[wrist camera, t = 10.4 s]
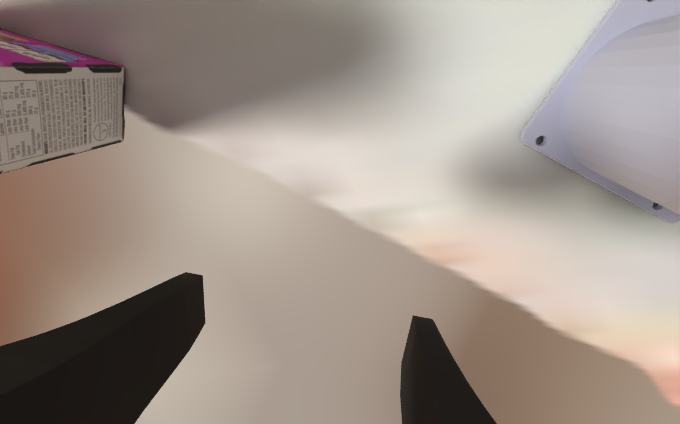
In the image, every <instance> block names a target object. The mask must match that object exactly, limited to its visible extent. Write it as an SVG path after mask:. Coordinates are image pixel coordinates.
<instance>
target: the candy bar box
mask: <svg viewBox="0 0 680 424" xmlns="http://www.w3.org/2000/svg"><path fill="white" fill-rule="evenodd" d="M124 71H125V69H124V67H123V66H122V65H118V64H115V63H112V62H108V61H105V60H102V59H98V58H95V57H91V56H88V55H85V54H82V53H78V52H75V51H72V50H68V49H65V48H61V47H58V46H55V45H51V44H48V43H45V42H41V41H38V40H34V39H31V38H28V37H25V36H21V35H18V34H15V33H12V32H9V31H5V30H2V29H0V174H2V173H6V172H10V171H14V170H17V169H22V168H24V167H27V166H31V165H35V164H39V163H43V162H47V161H50V160H55V159H58V158H62V157H66V156H70V155H74V154H78V153H82V152H86V151H89V150H93V149H97V148H100V147H104V146H108V145H111V144H116V143H119V142H122V141H123V139H124V127H125V120H124V87H125V80H124Z"/></svg>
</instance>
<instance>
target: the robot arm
mask: <svg viewBox="0 0 680 424" xmlns="http://www.w3.org/2000/svg"><path fill="white" fill-rule="evenodd" d="M539 136H543V137H544V140H543V142H542V143H541V144H539V145H537V144H536V139H537V138H538V137H539ZM520 140H521V142H522V143H524V144H525V145H527V146H529V147H531V148H533V149H534V150H536V151H538V152H540V153H542V154H543V155H545V156H547V157H549V158H551V159H553V160H554V161H556V162H558V163H560V164H562V165H564V166H565V167H567V168H569V169H571V170H573V171H575V172H576V173H578V174H580V175H582V176H584V177H586V178H587V179H589V180H591V181H593V182H595V183H597V184H598V185H600V186H602V187H604V188H606V189H607V190H609V191H611V192H613V193H615V194H617V195H618V196H620V197H622V198H624V199H626V200H628V201H629V202H631V203H633V204H635V205H637V206H639V207H640V208H642V209H644V210H646V211H648V212H650V213H651V214H653V215H655V216H657V217H659V218H660V219H662V220H664V221H666V222H669V223H675V222H678V221H680V0H651V1H650V2H648V1H647V0H616V2H615V3H614V4H613V6H612V7H611V9H610V10H609V11H608V13H607V14H606V16H605V17H604V18H603V20H602V21H601V22H600V24H599V25H598V27H597V28H596V29H595V31H594V32H593V33H592V35H591V36H590V38H589V39H588V40H587V42H586V43H585V44H584V46H583V47H582V49H581V50H580V51H579V53H578V54H577V55H576V57H575V58H574V60H573V61H572V62H571V64H570V65H569V66H568V68H567V69H566V71H565V72H564V73H563V75H562V76H561V77H560V79H559V80H558V82H557V83H556V84H555V86H554V87H553V88H552V90H551V91H550V93H549V94H548V95H547V97H546V98H545V99H544V101H543V102H542V104H541V105H540V106H539V108H538V109H537V111H536V112H535V113H534V115H533V116H532V117H531V119H530V120H529V122H528V123H527V124H526V126H525V127H524V128H523V130H522V131H521V134H520ZM654 203H657V204H658V205H657V206H655V207H653V204H654ZM204 324H205V310H204V292H203V276H202V275H197V274H192V273H187V272H186V273H183V274H181V275H178V276H176V277H174V278H172V279H169V280H167V281H165V282H163V283H161V284H159V285H157V286H155V287H153V288H150V289H149V290H146V291H144V292H142V293H140V294H138V295H136V296H133V297H131V298H129V299H127V300H125V301H123V302H120V303H118V304H116V305H113V306H111V307H109V308H106V309H104V310H102V311H99V312H97V313H95V314H93V315H90V316H88V317H86V318H83V319H80V320H78V321H76V322H73V323H70V324H67V325H65V326H62V327H59V328H56V329H53V330H51V331H48V332H45V333H42V334H39V335H36V336H33V337H30V338H26V339H23V340H20V341H16V342H13V343H10V344H6V345H3V346H0V424H134V423H135V422H136V421H137V419H138V418H139V416H140V415H141V414H142V412H143V411H144V409H145V408H146V407H147V405H148V404H149V403H150V402H151V400H152V399H153V398H154V396H155V395H156V394H157V392H158V391H159V390H160V388H161V387H162V386H163V384H164V383H165V382H166V381H167V379H168V378H169V376H170V375H171V374H172V373H173V371H174V370H175V369H176V367H177V366H178V365H179V363H180V362H181V361H182V359H183V358H184V357H185V355H186V354H187V353H188V351H189V350H190V348H191V347H192V345H193V343H194V342H195V340H196V338H197V337H198V335H199V333H200V331H201V330H202V328H203V326H204ZM400 397H401V413H402V424H496V422H495V421H494V419H493V418H492V417H491V415H490V414H489V413H488V411H487V410H486V408H485V407H484V406H483V404H482V403H481V401H480V400H479V398H478V397H477V395H476V394H475V392H474V391H473V389H472V388H471V387H470V385H469V383H468V382H467V380H466V378H465V377H464V375H463V373H462V372H461V370H460V368H459V367H458V365H457V363H456V362H455V360H454V359H453V356H452V355H451V353H450V351H449V349H448V347H447V346H446V344H445V342H444V340H443V338H442V336H441V334H440V332H439V330H438V328H437V326H436V324H435V323H434V321H433V320H432V319H429V318H423V317H418V316H413V318H412V322H411V326H410V330H409V334H408V338H407V343H406V347H405V351H404V355H403V359H402V365H401V390H400Z"/></svg>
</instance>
